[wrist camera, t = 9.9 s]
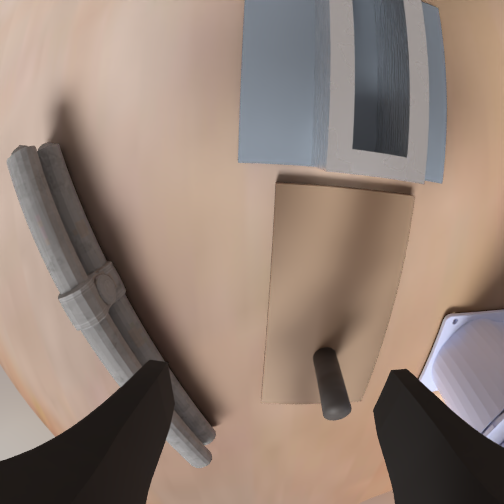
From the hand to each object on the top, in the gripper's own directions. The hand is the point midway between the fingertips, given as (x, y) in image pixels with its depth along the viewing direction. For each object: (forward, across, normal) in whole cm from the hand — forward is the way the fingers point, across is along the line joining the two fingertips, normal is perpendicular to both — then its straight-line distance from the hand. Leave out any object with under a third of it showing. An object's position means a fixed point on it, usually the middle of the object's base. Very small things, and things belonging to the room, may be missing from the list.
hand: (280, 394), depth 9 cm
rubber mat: (+9, -4, -12) cm, 16 cm away
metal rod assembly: (+10, +10, +4) cm, 14 cm away
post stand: (+9, -4, +3) cm, 10 cm away
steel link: (+9, -4, -12) cm, 16 cm away
